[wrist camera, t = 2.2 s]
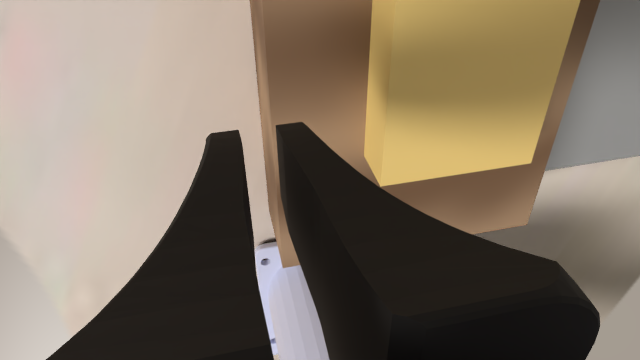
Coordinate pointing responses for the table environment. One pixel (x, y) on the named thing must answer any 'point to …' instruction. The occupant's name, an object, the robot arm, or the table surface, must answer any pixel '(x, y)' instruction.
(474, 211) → the deck
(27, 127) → the table surface
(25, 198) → the table surface
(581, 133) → the mat
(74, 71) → the table surface
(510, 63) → the yellow rectangular block
